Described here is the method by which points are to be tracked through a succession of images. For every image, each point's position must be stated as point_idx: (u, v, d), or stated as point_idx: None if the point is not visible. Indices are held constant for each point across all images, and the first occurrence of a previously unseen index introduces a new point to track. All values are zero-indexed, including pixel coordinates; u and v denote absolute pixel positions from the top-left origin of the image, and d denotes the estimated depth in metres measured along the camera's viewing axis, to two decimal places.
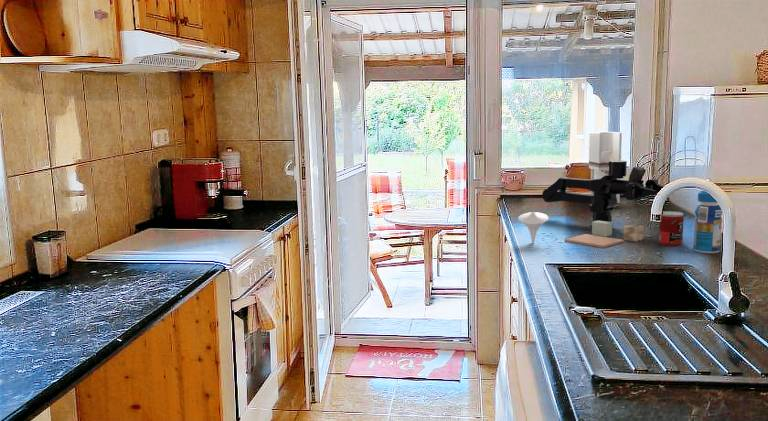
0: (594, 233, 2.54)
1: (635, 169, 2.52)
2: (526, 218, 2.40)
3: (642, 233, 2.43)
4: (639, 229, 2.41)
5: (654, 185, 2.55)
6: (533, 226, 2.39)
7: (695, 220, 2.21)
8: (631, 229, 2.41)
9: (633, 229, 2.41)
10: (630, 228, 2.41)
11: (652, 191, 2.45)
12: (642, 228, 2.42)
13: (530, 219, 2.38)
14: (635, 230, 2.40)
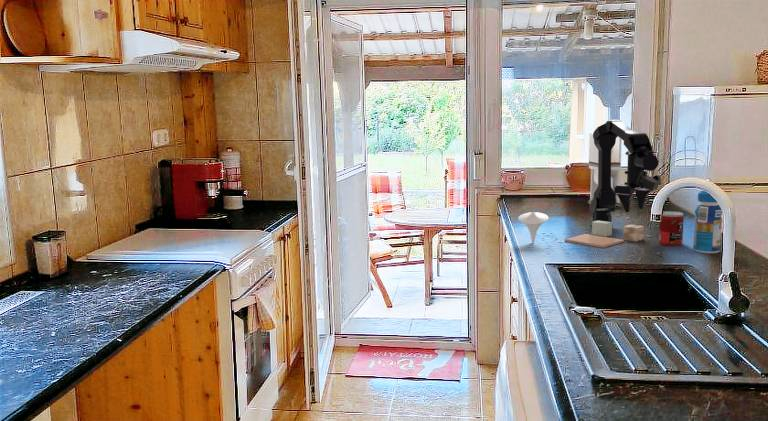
0: (594, 233, 2.54)
1: (652, 185, 2.33)
2: (526, 218, 2.40)
3: (642, 233, 2.43)
4: (639, 229, 2.41)
5: (645, 192, 2.43)
6: (533, 226, 2.39)
7: (695, 220, 2.21)
8: (631, 229, 2.41)
9: (633, 229, 2.41)
10: (630, 228, 2.41)
11: (627, 208, 2.38)
12: (642, 228, 2.42)
13: (530, 219, 2.38)
14: (635, 230, 2.40)
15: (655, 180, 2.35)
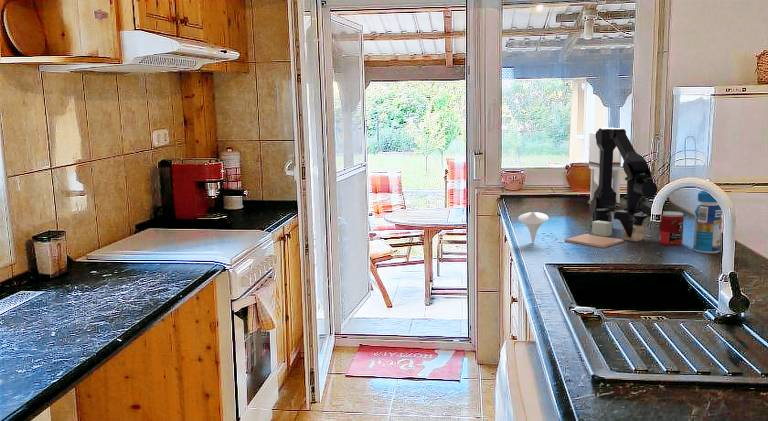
0: (594, 233, 2.54)
1: None
2: (526, 218, 2.40)
3: (642, 233, 2.43)
4: (639, 229, 2.41)
5: (641, 218, 2.44)
6: (533, 226, 2.39)
7: (695, 220, 2.21)
8: None
9: (633, 229, 2.41)
10: None
11: (629, 233, 2.41)
12: (642, 228, 2.42)
13: (530, 219, 2.38)
14: (635, 230, 2.40)
15: None
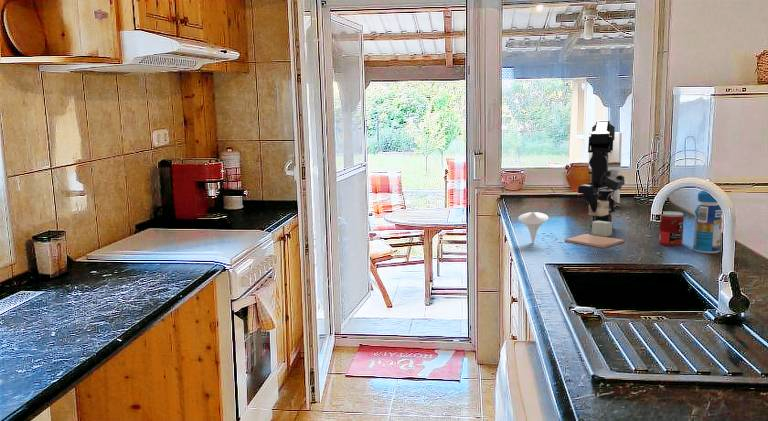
0: (594, 233, 2.54)
1: (615, 185, 2.31)
2: (526, 218, 2.40)
3: (607, 208, 2.39)
4: (604, 203, 2.37)
5: (606, 193, 2.40)
6: (533, 226, 2.39)
7: (695, 220, 2.21)
8: None
9: (598, 203, 2.37)
10: None
11: (594, 208, 2.37)
12: (607, 203, 2.38)
13: (530, 219, 2.38)
14: (600, 204, 2.36)
15: (618, 180, 2.33)
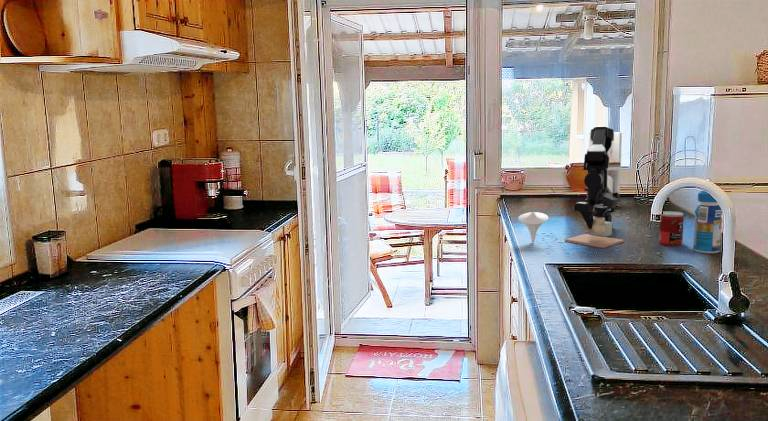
0: (594, 233, 2.54)
1: (610, 203, 2.32)
2: (526, 218, 2.40)
3: (603, 225, 2.40)
4: (600, 220, 2.38)
5: (602, 210, 2.41)
6: (533, 226, 2.39)
7: (695, 220, 2.21)
8: None
9: (594, 220, 2.38)
10: None
11: (590, 225, 2.38)
12: (603, 219, 2.40)
13: (530, 219, 2.38)
14: (596, 221, 2.37)
15: (614, 197, 2.34)
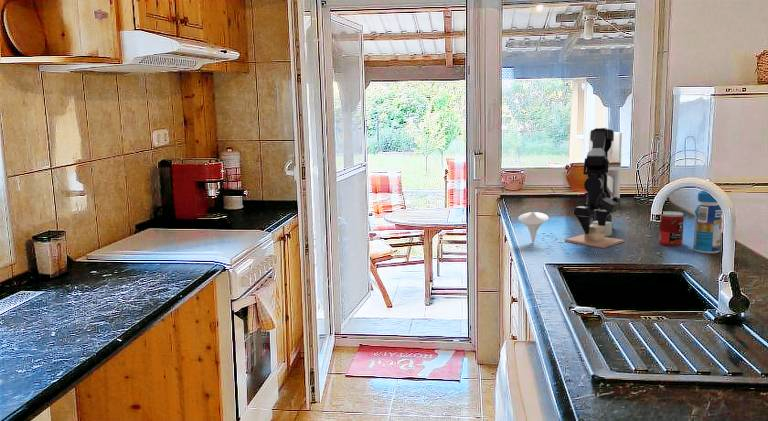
0: None
1: (610, 207, 2.32)
2: (526, 218, 2.40)
3: (603, 233, 2.40)
4: (600, 229, 2.39)
5: (605, 214, 2.42)
6: (533, 226, 2.39)
7: (695, 220, 2.21)
8: (591, 229, 2.39)
9: (593, 229, 2.38)
10: (590, 228, 2.39)
11: (586, 230, 2.37)
12: (603, 228, 2.40)
13: (530, 219, 2.38)
14: (595, 230, 2.38)
15: (614, 202, 2.34)
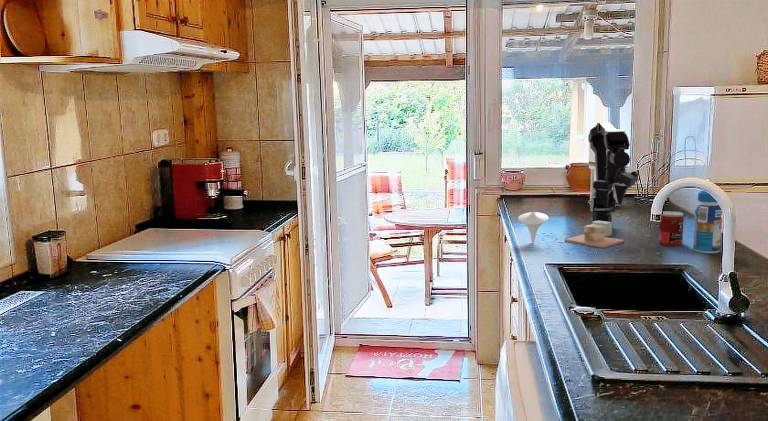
0: None
1: (629, 181, 2.41)
2: (526, 218, 2.40)
3: (603, 233, 2.40)
4: (600, 229, 2.39)
5: (623, 188, 2.51)
6: (533, 226, 2.39)
7: (695, 220, 2.21)
8: (591, 229, 2.39)
9: (593, 229, 2.38)
10: (590, 228, 2.39)
11: (606, 203, 2.47)
12: (603, 228, 2.40)
13: (530, 219, 2.38)
14: (595, 230, 2.38)
15: (632, 176, 2.43)
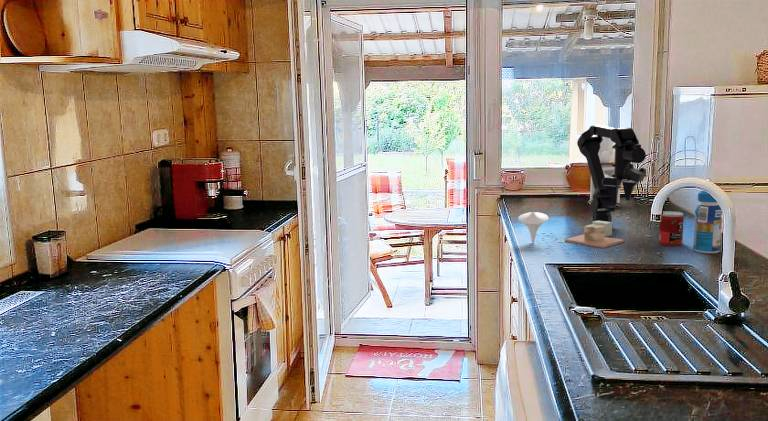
0: None
1: (637, 177, 2.46)
2: (526, 218, 2.40)
3: (603, 233, 2.40)
4: (600, 229, 2.39)
5: (631, 184, 2.56)
6: (533, 226, 2.39)
7: (695, 220, 2.21)
8: (591, 229, 2.39)
9: (593, 229, 2.38)
10: (590, 228, 2.39)
11: (614, 199, 2.51)
12: (603, 228, 2.40)
13: (530, 219, 2.38)
14: (595, 230, 2.38)
15: (641, 172, 2.47)
